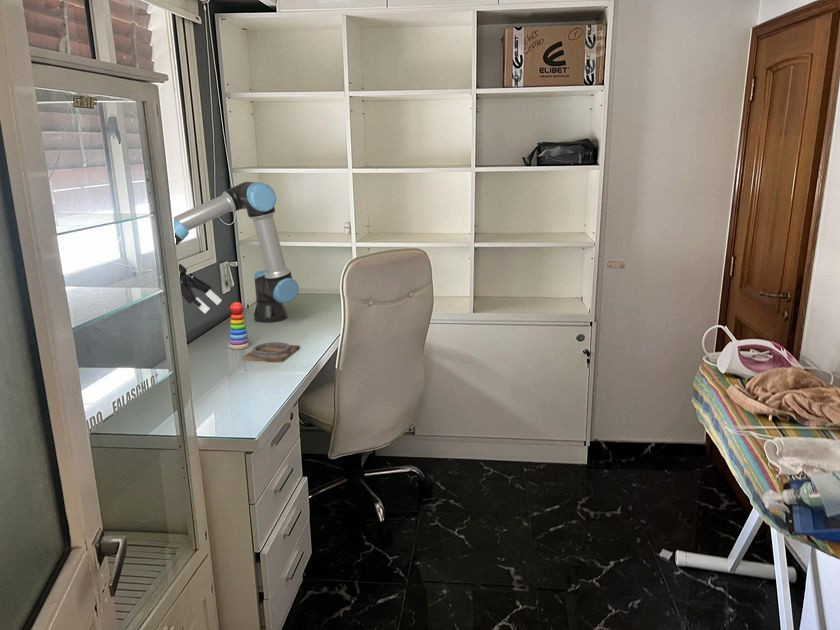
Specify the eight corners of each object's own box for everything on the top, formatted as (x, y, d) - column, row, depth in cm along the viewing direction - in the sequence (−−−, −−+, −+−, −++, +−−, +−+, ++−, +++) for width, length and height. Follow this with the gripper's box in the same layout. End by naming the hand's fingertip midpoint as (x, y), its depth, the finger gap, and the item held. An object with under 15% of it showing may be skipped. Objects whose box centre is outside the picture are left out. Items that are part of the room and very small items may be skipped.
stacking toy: (244, 350, 255) (239, 305, 251) (225, 349, 257) (221, 304, 252) (252, 344, 263) (249, 300, 258) (234, 343, 265) (230, 299, 260)
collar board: (263, 346, 261) (262, 339, 260) (299, 348, 258) (299, 341, 257) (242, 360, 244) (241, 353, 243) (281, 362, 241) (280, 356, 240)
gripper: (179, 270, 265) (218, 305, 268) (152, 283, 241) (195, 321, 244) (191, 257, 264) (230, 293, 267) (165, 269, 239) (208, 308, 243)
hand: (213, 306), depth 255 cm, fingers open, 13 cm apart
